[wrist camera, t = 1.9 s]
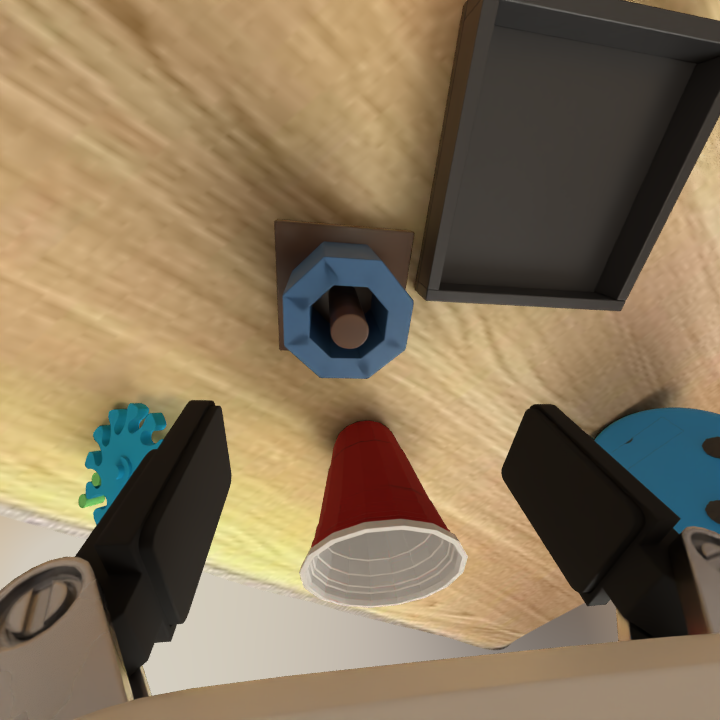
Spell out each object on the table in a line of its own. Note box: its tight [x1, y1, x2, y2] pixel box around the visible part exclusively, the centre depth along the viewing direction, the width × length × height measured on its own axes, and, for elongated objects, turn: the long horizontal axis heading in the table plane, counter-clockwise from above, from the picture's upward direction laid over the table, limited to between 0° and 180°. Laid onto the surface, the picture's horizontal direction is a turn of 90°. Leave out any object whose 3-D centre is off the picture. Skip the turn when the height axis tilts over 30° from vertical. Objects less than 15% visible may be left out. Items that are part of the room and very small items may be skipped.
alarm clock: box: [594, 408, 720, 534], centre depth 27 cm, size 13×6×15 cm, turn 136°
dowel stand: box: [274, 219, 414, 351], centre depth 19 cm, size 9×9×8 cm
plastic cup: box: [299, 420, 468, 608], centre depth 25 cm, size 11×11×12 cm
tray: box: [415, 0, 720, 311], centre depth 19 cm, size 15×15×3 cm
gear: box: [79, 403, 167, 525], centre depth 25 cm, size 11×6×10 cm
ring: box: [282, 241, 414, 379], centre depth 19 cm, size 7×7×6 cm
